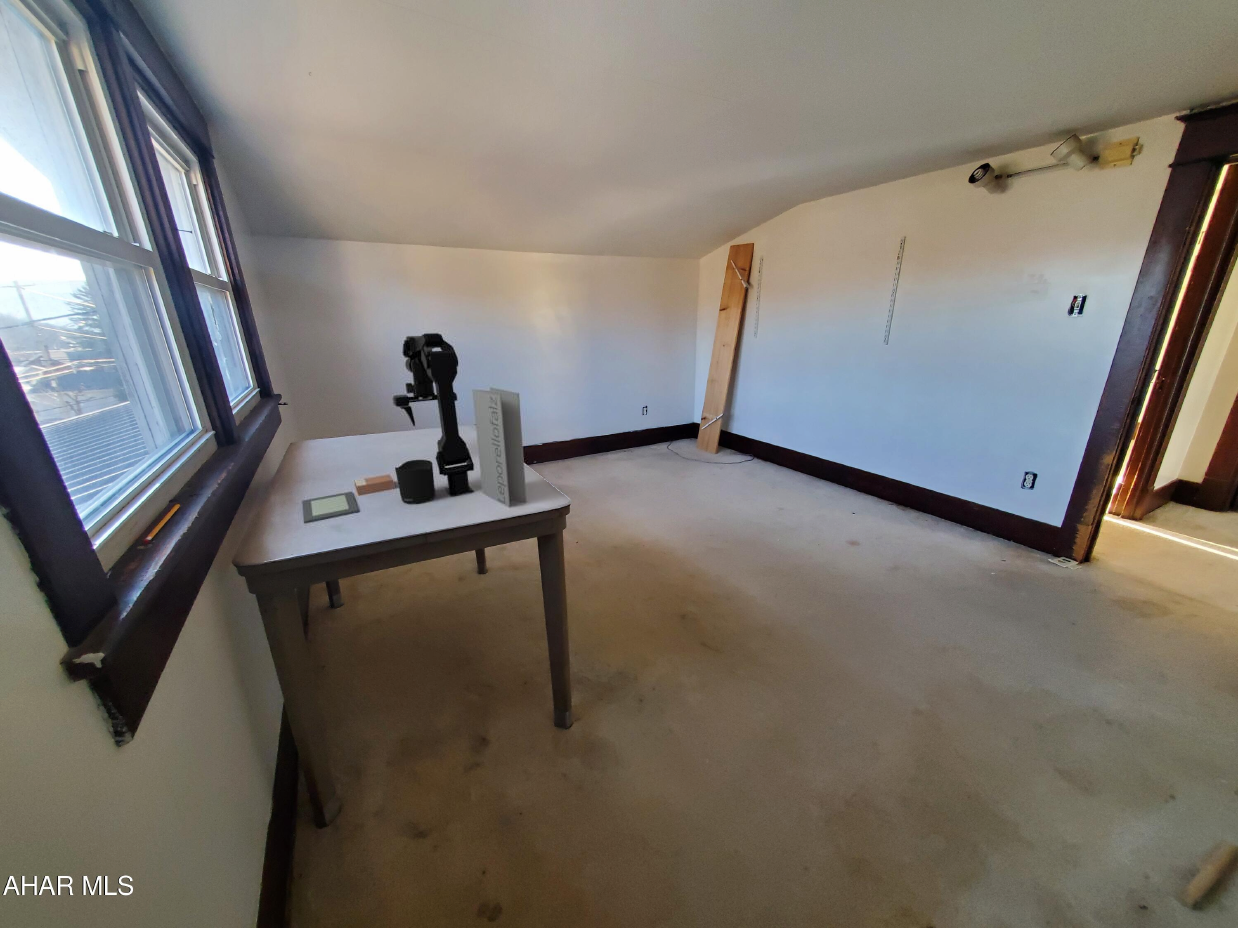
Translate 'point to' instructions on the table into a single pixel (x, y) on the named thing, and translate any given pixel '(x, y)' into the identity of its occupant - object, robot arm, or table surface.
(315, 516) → the mat
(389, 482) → the block
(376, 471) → the table surface
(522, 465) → the brochure
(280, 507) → the table surface
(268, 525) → the table surface
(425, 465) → the pen holder
